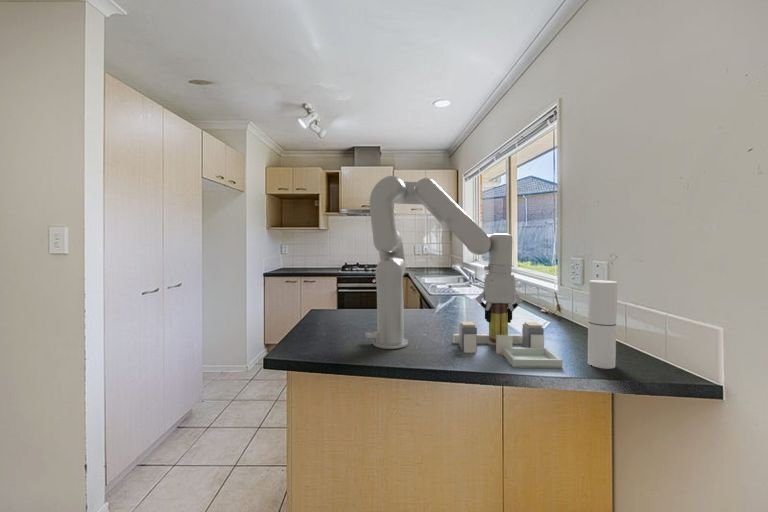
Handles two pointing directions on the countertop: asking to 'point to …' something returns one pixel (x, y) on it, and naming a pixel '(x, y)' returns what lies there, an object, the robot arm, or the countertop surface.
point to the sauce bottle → (498, 320)
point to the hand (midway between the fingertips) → (498, 321)
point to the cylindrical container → (602, 323)
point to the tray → (532, 358)
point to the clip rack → (499, 338)
